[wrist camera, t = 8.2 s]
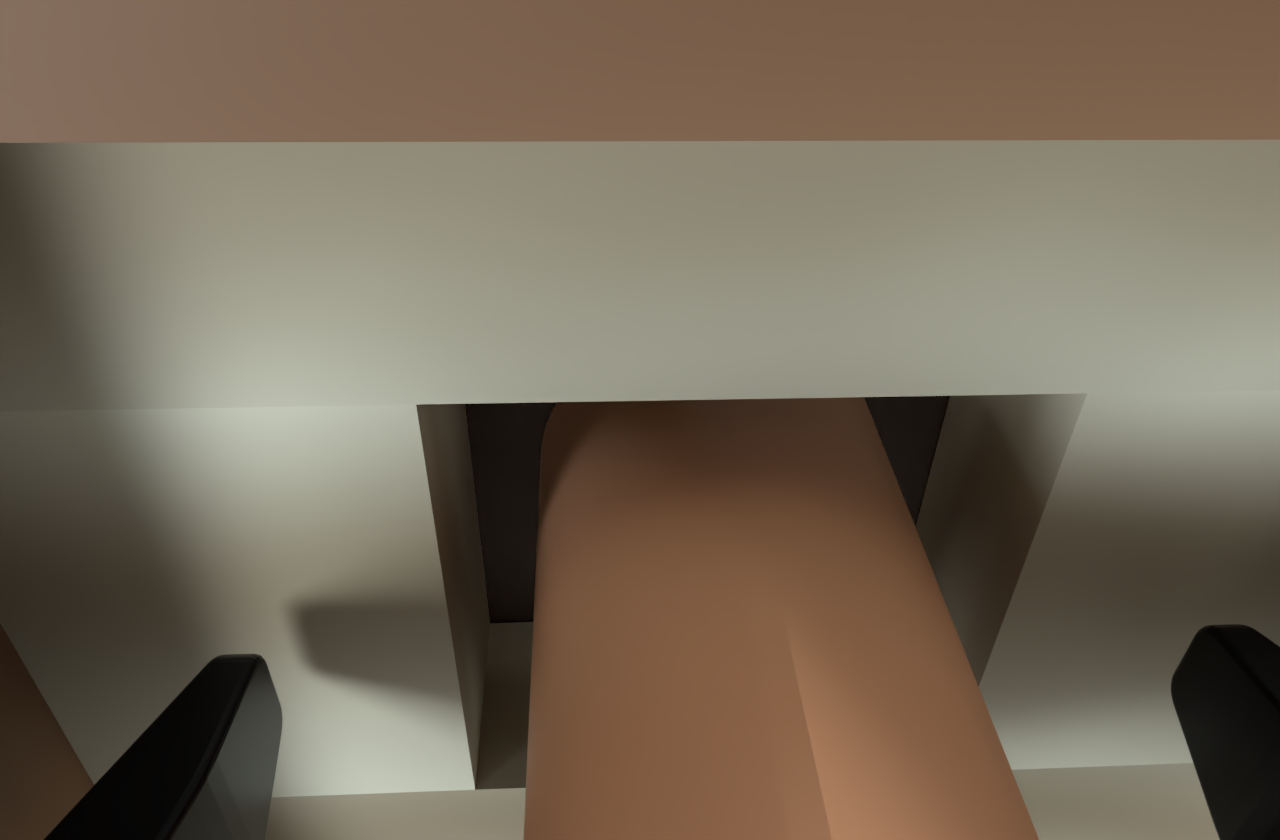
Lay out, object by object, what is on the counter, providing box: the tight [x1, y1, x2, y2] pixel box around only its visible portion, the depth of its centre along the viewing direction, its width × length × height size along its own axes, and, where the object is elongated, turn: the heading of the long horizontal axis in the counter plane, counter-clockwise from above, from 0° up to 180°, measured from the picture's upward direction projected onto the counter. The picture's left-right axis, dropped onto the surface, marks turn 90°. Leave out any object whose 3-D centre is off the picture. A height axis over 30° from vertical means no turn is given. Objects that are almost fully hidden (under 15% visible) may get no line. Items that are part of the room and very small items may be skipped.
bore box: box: [0, 0, 1280, 840], centre depth 10 cm, size 14×16×5 cm
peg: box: [523, 397, 1039, 840], centre depth 9 cm, size 4×4×8 cm
